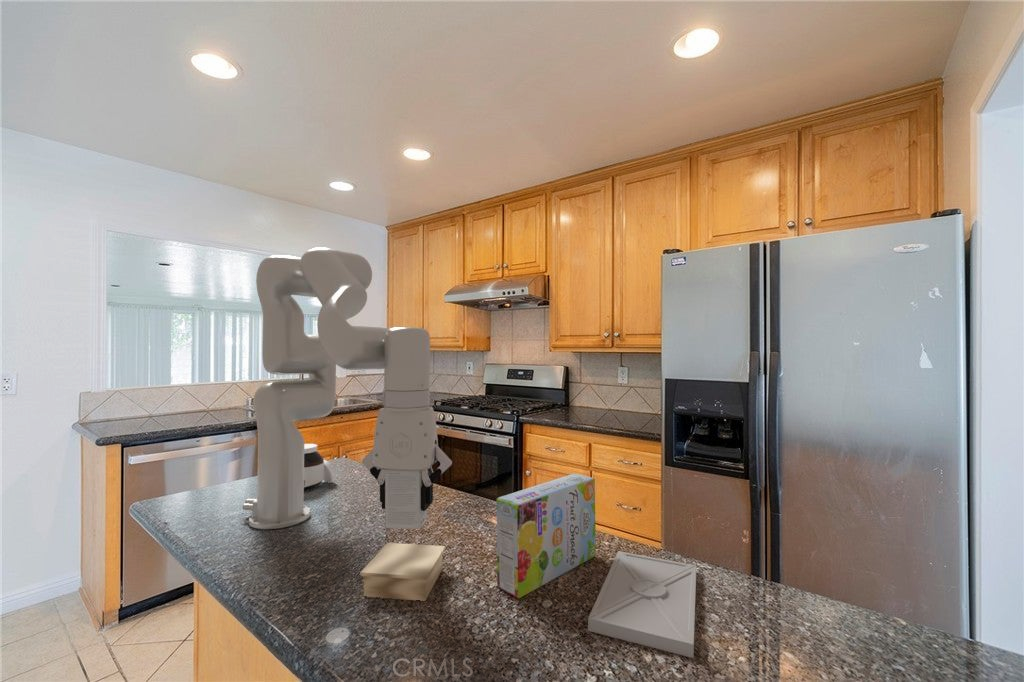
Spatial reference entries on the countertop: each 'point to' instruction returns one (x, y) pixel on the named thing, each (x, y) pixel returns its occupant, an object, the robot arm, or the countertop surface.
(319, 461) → the spread jar
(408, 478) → the skincare box
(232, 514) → the countertop surface
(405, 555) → the pedestal
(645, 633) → the envelope
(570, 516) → the snack box
